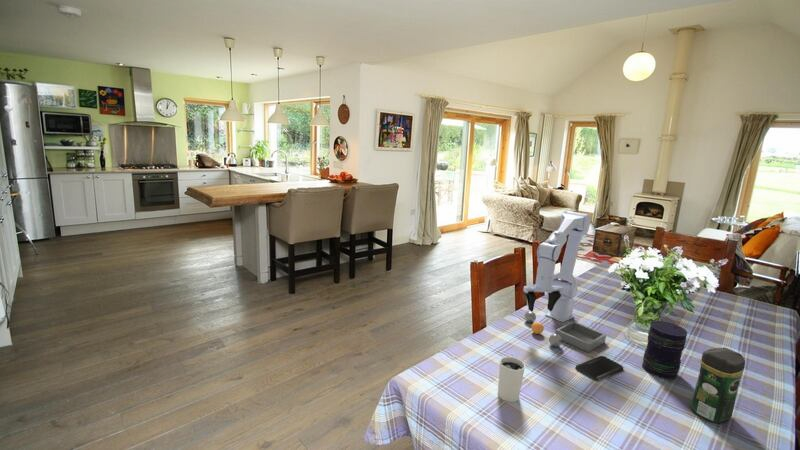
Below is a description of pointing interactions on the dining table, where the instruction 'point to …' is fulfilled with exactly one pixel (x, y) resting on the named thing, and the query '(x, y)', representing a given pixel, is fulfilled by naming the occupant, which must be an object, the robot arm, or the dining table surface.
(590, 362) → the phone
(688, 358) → the dining table surface
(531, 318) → the steel ball
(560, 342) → the steel ball
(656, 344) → the storage jar
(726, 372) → the coffee jar
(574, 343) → the bin
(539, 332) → the orange ball
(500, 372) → the white cup
